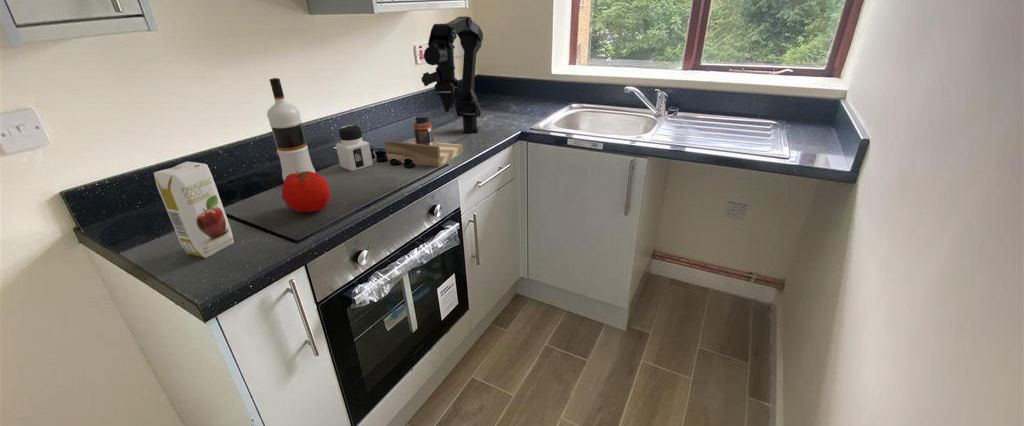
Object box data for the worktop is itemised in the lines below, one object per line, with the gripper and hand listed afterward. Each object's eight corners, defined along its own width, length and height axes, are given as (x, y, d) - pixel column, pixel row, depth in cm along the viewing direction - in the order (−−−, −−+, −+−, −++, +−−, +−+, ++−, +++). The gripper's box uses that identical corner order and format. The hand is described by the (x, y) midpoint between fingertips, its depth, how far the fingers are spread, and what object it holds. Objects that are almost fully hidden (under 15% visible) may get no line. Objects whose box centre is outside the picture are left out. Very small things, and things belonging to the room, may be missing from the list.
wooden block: (414, 146, 162) (412, 129, 159) (463, 151, 154) (461, 133, 152) (387, 160, 148) (384, 141, 146) (439, 166, 141) (437, 147, 138)
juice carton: (180, 255, 96) (146, 173, 87) (216, 237, 103) (188, 159, 94) (205, 261, 93) (171, 177, 85) (240, 241, 100) (213, 162, 92)
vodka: (278, 186, 131) (248, 81, 117) (292, 174, 139) (266, 76, 126) (309, 185, 130) (282, 80, 117) (321, 173, 139) (298, 75, 126)
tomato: (309, 197, 122) (300, 162, 118) (344, 204, 117) (336, 168, 113) (274, 214, 113) (263, 176, 109) (310, 222, 108) (300, 184, 104)
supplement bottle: (437, 149, 149) (433, 116, 145) (420, 152, 147) (416, 119, 142) (430, 145, 154) (427, 112, 149) (414, 148, 151) (410, 115, 147)
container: (373, 165, 145) (366, 126, 139) (351, 171, 140) (343, 131, 134) (361, 160, 150) (354, 122, 144) (339, 166, 145) (331, 127, 139)
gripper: (426, 62, 159) (429, 106, 165) (417, 65, 142) (421, 114, 148) (457, 61, 159) (459, 105, 165) (451, 65, 142) (454, 114, 148)
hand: (448, 109), depth 157 cm, fingers open, 9 cm apart
